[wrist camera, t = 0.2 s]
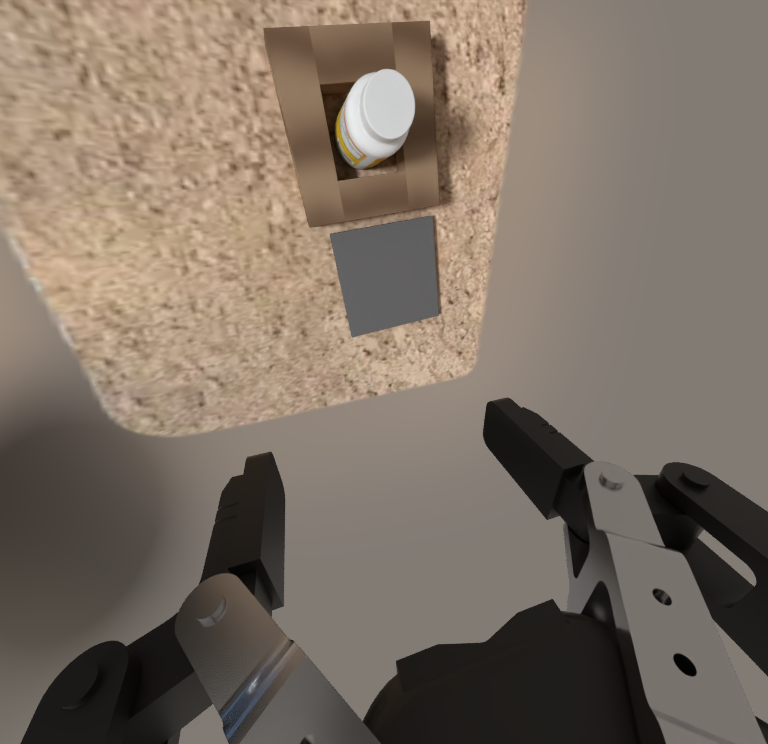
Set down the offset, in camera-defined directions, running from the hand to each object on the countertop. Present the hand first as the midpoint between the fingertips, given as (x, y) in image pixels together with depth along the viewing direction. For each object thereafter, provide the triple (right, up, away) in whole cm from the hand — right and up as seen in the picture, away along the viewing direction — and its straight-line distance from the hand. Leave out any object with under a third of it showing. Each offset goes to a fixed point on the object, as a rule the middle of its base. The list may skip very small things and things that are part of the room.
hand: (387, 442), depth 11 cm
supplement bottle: (-3, +26, +19) cm, 32 cm away
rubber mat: (+1, +14, +26) cm, 29 cm away
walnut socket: (-2, +26, +19) cm, 32 cm away
